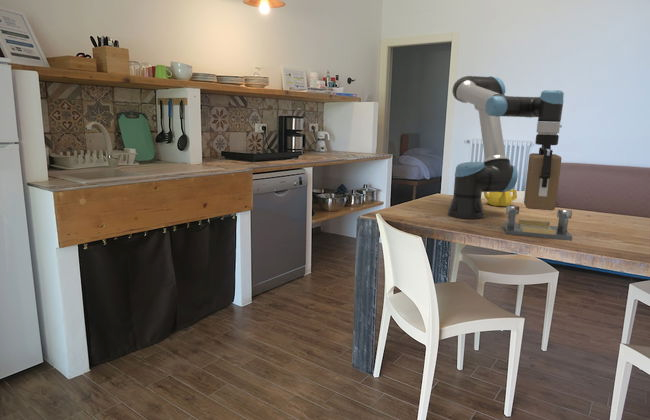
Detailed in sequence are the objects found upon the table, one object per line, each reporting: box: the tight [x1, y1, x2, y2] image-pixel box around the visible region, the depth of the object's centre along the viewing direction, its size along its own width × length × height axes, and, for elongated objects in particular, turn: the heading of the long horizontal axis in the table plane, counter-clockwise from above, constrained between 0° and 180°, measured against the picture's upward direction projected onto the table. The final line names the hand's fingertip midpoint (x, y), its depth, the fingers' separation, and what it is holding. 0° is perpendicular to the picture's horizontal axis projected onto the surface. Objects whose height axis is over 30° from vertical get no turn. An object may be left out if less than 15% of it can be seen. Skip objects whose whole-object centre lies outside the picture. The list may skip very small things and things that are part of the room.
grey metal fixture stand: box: [503, 205, 573, 241], centre depth 174 cm, size 22×15×10 cm
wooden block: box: [523, 152, 562, 211], centre depth 170 cm, size 10×10×20 cm
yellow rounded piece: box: [483, 188, 518, 207], centre depth 228 cm, size 14×13×10 cm
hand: (540, 193), depth 171 cm, fingers closed on wooden block, 10 cm apart
